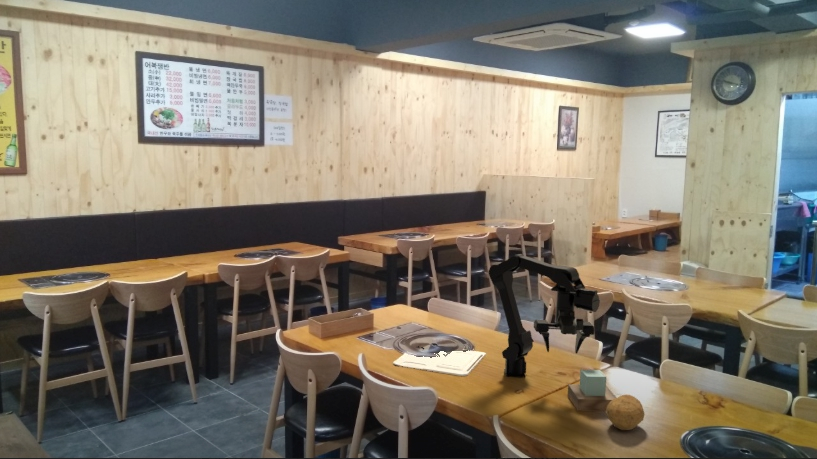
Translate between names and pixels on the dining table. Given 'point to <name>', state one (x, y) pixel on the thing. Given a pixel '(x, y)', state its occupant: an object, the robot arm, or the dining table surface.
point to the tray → (443, 362)
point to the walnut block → (589, 399)
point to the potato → (625, 412)
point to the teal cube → (592, 382)
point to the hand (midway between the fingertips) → (561, 352)
